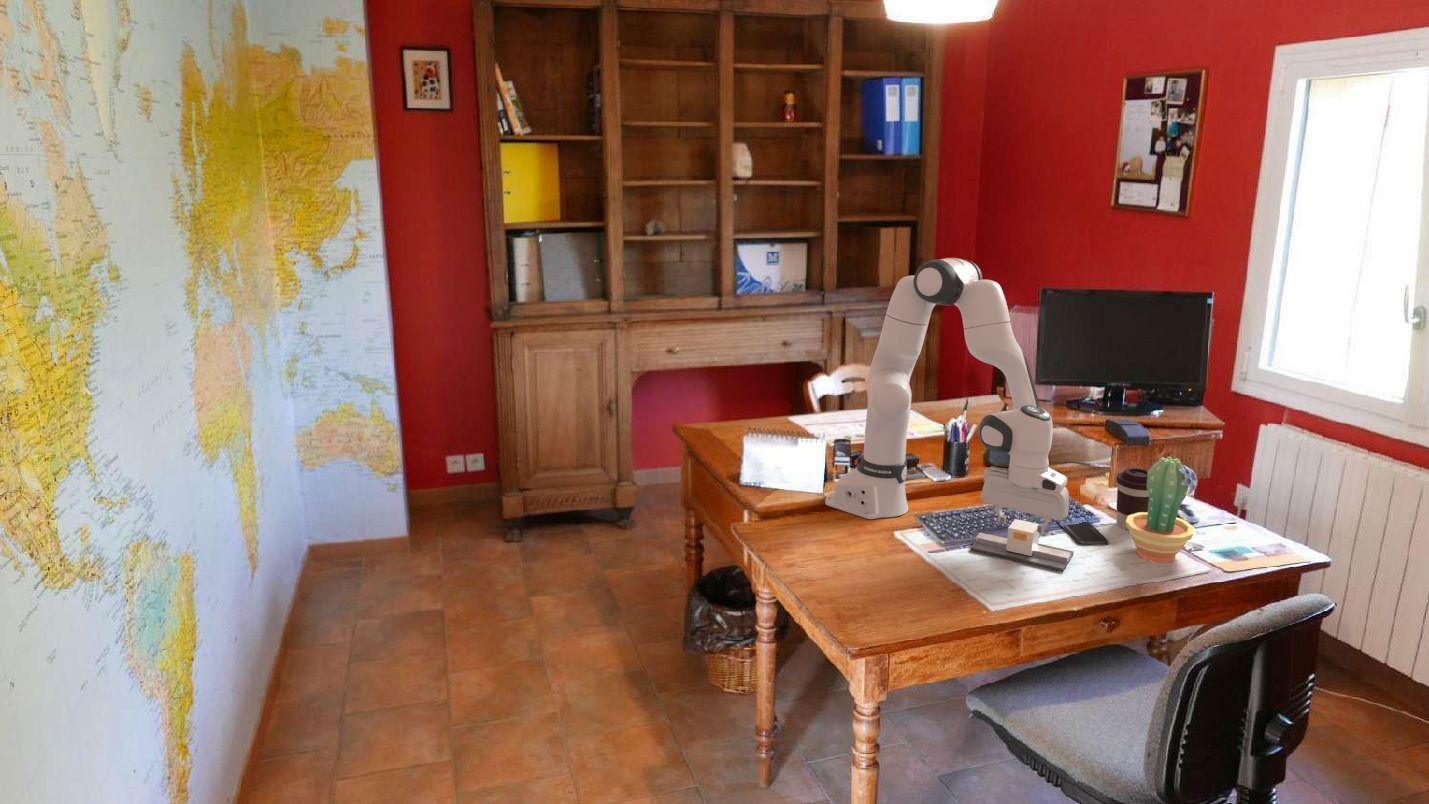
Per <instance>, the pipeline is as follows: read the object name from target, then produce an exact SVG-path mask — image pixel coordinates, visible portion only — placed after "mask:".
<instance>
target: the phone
mask: <svg viewBox="0 0 1429 804" xmlns="http://www.w3.org/2000/svg"><path fill="white" fill-rule="evenodd" d="M1063 530H1064V531H1065V532H1066V534H1067V535H1069V536H1070V538H1072V540H1073V541H1074V542H1075V543H1076V544H1078V545H1079V546H1107V545H1108V544H1109V540H1108V538H1106V536H1104V534H1102V533H1101V532H1100V531H1099V530H1098V529H1097V528H1096V527H1095V526H1094V525H1093V524H1092V523H1091V522H1090V521H1089V519H1087V522H1082V523H1079V524H1075V525H1074V524H1073V525H1068V526H1064V529H1063Z"/></svg>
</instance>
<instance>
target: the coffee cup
mask: <svg viewBox="0 0 1429 804" xmlns="http://www.w3.org/2000/svg"><path fill="white" fill-rule="evenodd" d="M1148 471H1149V470H1148V469H1144V468H1141V467H1140V468H1139V467H1128V468H1125V469H1124V471H1122V472H1119V473H1117V474H1116V483H1117V484H1118V487H1117V490H1116V492H1117V493H1116V525H1117V526H1118V527H1120V528H1121V529H1124V530H1127V531H1130V530H1129V529H1128V528H1127V527H1126V520H1127V517H1128V515H1132V514H1135V513H1138V512H1148V503H1149V495H1148V491H1147V476H1148Z"/></svg>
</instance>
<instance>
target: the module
mask: <svg viewBox="0 0 1429 804" xmlns="http://www.w3.org/2000/svg"><path fill="white" fill-rule="evenodd" d="M1039 524H1040V523H1036V522H1031V521H1026V520H1022V519H1017V518H1015V519H1014V520H1013V521H1012V523H1011V524H1010V525H1009V526H1008V528H1007V546H1006V550H1007V551H1011V552H1015V553H1020V554H1024V555H1028V556H1032V551H1033V550H1034V548H1035V547H1036V545H1038V544H1039V538H1040V537H1039V536H1040V533H1039V532H1037V527H1038V525H1039Z"/></svg>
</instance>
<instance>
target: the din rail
mask: <svg viewBox="0 0 1429 804" xmlns="http://www.w3.org/2000/svg"><path fill="white" fill-rule="evenodd" d="M1007 536H1008V535H1007ZM1007 536H1006V535H1001V534H998V533H993V534H985V533H983V532H979V533H978V534H977V535H976V537H975V542H974V543H973V544H972V545H971V546H970V552H973V553H977V554H982V555H986V556H991V557H995V558H997V559H998V558H999V559H1003V560H1008V561H1012V562H1016V563H1021V564H1024V565H1029V566H1033V567H1037V568H1041V569H1046V570H1050V571H1054V572H1059V573H1061V574H1063V573H1064V572H1065V570H1066V569H1067V567H1068V564H1070V562H1071V559H1072V558H1073V557H1074V553H1075V551H1073V550H1069V549H1064V548H1060V547H1055V546H1051V545H1047V544H1042V543H1038V545H1036V547H1035V548H1034V550H1033V551H1032V556H1028V555H1024V554H1020V553H1015V552H1011V551H1007V550H1006V546H1007Z"/></svg>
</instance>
